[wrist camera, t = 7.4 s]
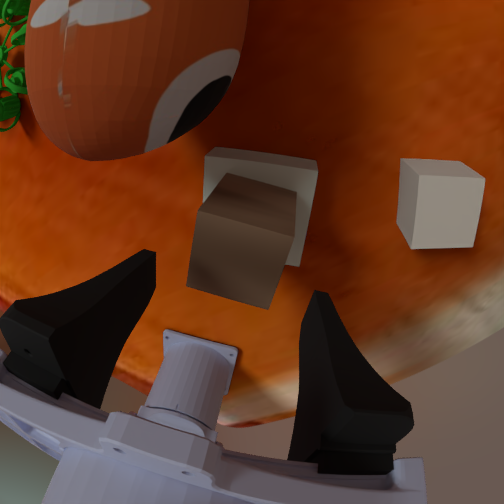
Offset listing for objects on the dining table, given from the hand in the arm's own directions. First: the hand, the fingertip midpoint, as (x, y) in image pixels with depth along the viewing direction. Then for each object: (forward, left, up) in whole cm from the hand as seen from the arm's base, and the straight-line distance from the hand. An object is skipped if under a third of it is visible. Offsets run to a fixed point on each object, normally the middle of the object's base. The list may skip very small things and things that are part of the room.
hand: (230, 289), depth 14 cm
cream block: (+4, -12, -11) cm, 17 cm away
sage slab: (0, 0, -11) cm, 11 cm away
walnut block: (0, 0, -8) cm, 8 cm away
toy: (+16, +7, -11) cm, 21 cm away
